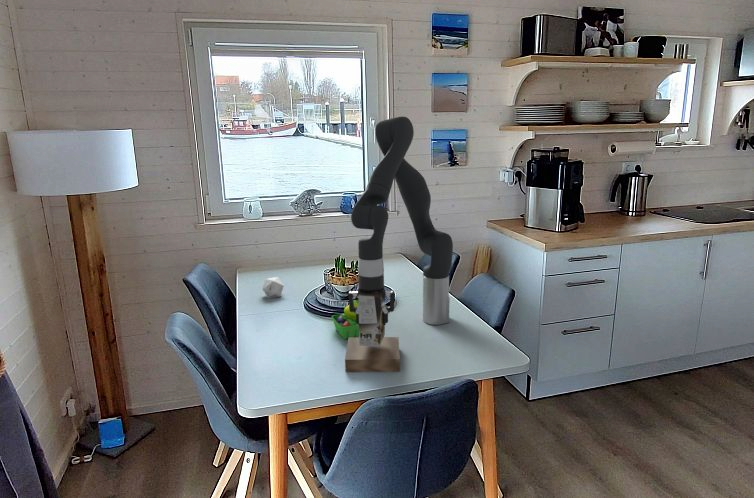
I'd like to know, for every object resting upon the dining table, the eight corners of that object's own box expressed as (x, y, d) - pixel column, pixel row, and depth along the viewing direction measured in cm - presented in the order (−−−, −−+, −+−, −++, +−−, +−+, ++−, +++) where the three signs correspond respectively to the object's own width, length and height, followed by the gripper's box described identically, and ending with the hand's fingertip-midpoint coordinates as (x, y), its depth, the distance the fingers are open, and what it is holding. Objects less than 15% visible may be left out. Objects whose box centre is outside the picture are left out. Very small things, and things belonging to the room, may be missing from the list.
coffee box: (380, 347, 150) (379, 296, 146) (358, 345, 152) (357, 295, 147) (385, 334, 159) (385, 285, 155) (365, 333, 160) (364, 284, 156)
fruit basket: (331, 329, 180) (329, 299, 177) (354, 324, 183) (353, 295, 180) (342, 341, 170) (340, 310, 167) (366, 336, 173) (365, 305, 170)
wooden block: (398, 348, 164) (398, 337, 163) (399, 371, 150) (399, 359, 148) (349, 348, 164) (348, 337, 163) (345, 371, 150) (345, 359, 149)
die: (259, 298, 213) (259, 284, 206) (268, 282, 219) (269, 269, 211) (276, 305, 212) (278, 292, 205) (285, 290, 218) (287, 277, 211)
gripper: (395, 267, 153) (395, 318, 157) (347, 268, 153) (349, 319, 158) (395, 275, 146) (396, 329, 150) (345, 276, 146) (347, 329, 151)
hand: (372, 323), depth 154 cm, fingers closed on coffee box, 7 cm apart
